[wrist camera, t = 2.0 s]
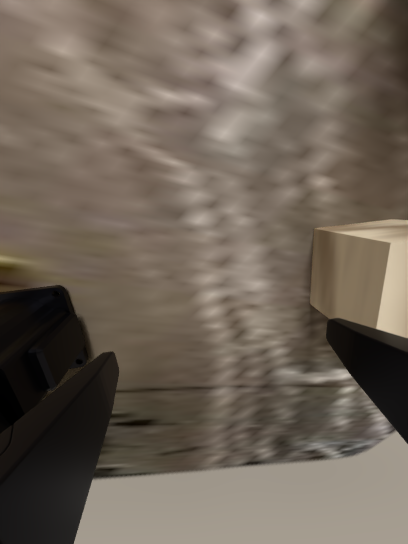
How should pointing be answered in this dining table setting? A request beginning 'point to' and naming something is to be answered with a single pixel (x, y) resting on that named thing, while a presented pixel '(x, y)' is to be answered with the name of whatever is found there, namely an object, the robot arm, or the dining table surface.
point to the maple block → (362, 274)
